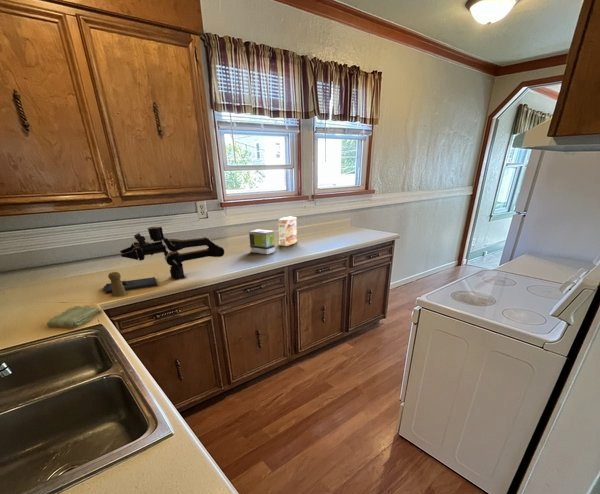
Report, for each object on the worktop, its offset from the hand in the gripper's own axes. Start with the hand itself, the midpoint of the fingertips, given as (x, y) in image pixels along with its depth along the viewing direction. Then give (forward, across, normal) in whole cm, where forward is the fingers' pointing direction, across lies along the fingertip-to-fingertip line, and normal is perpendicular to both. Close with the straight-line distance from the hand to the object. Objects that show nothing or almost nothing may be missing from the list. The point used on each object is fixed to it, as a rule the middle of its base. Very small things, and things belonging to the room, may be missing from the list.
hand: (120, 253), depth 165 cm
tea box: (-88, -31, +21) cm, 96 cm away
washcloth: (+23, +37, +16) cm, 46 cm away
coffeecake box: (-116, -45, +22) cm, 126 cm away
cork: (+6, +13, +17) cm, 22 cm away
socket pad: (0, +3, +17) cm, 17 cm away
